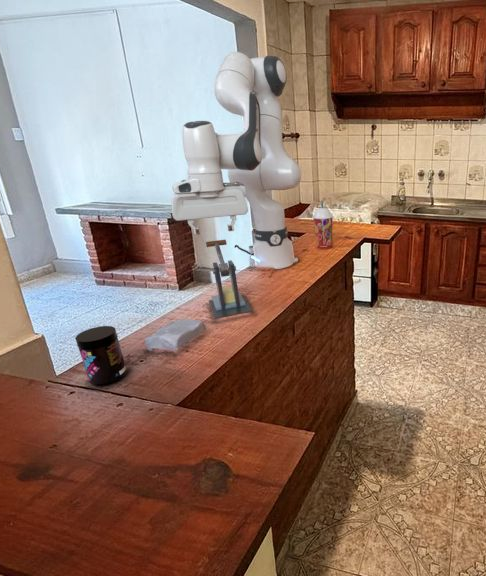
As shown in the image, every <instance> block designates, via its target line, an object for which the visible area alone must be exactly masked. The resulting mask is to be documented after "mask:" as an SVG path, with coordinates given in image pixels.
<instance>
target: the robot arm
mask: <svg viewBox="0 0 486 576" xmlns="http://www.w3.org/2000/svg"><path fill="white" fill-rule="evenodd" d="M287 76H288V75H287V70H286V66H285V64H284V62H283V61H282V60H281V59H280V58H279V56H276V55H266V56H260V57H258V56H257V57H251V58H250V57H249V56H248V55H246V54H245V53H243V52H241V51H231V52H229V53H228V54H226V56H225V57H224V59H223V60H222V62H221V64H220V66H219V68H218V71H217V74H216V76H215V77H216V78H215V81H214V85H213V93H214V96H215V99H216V101H217V102H218V104H219V106H221V107H222V108H223V109H224V110H226V111H227V112H229V113H231V114H233V115H236V116H241V117H242V118H243V130H242V131H241V132H238V133H234V134H232V133H231V134H218V133H217V132H215V128H214V125H213V123H212V122H211V121H209V120H195V121H188V122H185V124H183V125H182V131H181V136H182V148H183V155H184V158H185V160H186V163H187V175H188V176H187V177H188V178H186V179H181V180H180V181H178V182H175V183H173V184H172V191H173V194H172V196H171V203H170V204H171V205H170V206H171V216H172V219H174V221H177V222H180V221H181V222H182V221H187V224H188V225H189V227H190V228H191V229H192V230H193V235H194V236H199V235H201V233H200V228H199V227H195V226H194V220H201V219H213V218H221V217H230V219H231V221H230V223H229V224H227V230H228V232H235V224H236V221H237V216H243V215H247V213H248V211H249V208H248V203H249V205H250V208H251V212H252V216H253V221H254V222H253V223H254V230H253V234H254V239H255V240H254V241H253V245H249V246H248V250H246V249H245V248H242V247H240V246H239V245H238V244H235V245H234V247H233V248H234V249H235V248H237V249H238V250H240V251H242V252H244V253H246V254H247V255H249V256H248V258H249V259H248V261H249V265H248V266H249V267H258V268H267V269H268V268H273V269H274V270H282V269H285V268H288V267H291V266H292V265H293V264H295V263H298V262H299V257H296V256H295V253H294V247H293V241H292V240H291V239H290V238H288V236H289V234H288V233H289V231H288V228H287V226H286V218H285V215H286V214H285V208H284V206H283V205H282V204H281V203H280V202H279V201H277V200H275V199H273V198H271V197H270V196H269V194H268V193H267V191H285V190H291V189H294V188H297V187H299V184H300V182H301V180H302V169H301V166H300V165H299V163H298V162H297V161H296V160H294V158H292V157H290V155H289V154H288V153H287V152H286V150H285V146H284V143H283V110H282V105H281V100H280V98H279V97H280V96H281V95H282V94H283V91H284V89H285V87H286V84H287V81H288V77H287ZM263 153H264V154H265V157H263ZM222 170H227V178H228V180H229V182H224V178H223V171H222ZM247 202H248V203H247ZM252 265H253V266H252Z"/></svg>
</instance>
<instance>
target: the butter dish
mask: <svg viewBox="0 0 486 576" xmlns="http://www.w3.org/2000/svg"><path fill="white" fill-rule="evenodd" d="M222 290H223V296H224V302H225V308H226V309H227V308H233V307H237V306H236V303H235V298H234V292H233V290H232V284H231V285H226V286H222ZM238 294H239V301H240V306H243V305H246V304H245V301H244V300H243V298H242V296H241V295H242V294H241V293H240V291H239V290H238ZM211 300H213V303H214V306H215V309H216V311H217V310H222V308H221V305H220V302H219V297H218V294H216V295H211Z"/></svg>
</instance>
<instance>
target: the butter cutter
mask: <svg viewBox="0 0 486 576" xmlns="http://www.w3.org/2000/svg"><path fill="white" fill-rule="evenodd" d="M227 264H228V267H229V272H230V276H229V279H230V283H231V285H232V290H233V292H234V298H235V303H236V306H237V307H233V308H227V309H226V308H225V302H224V296H223V290H222V287H223V284H222V279H221V278H222V277H221V273H220V269H219V263H217V262H212V266H213V268H212V274H213V275H214V278H215V279H214V280H215V284H216V291H217V295H218V297H219V302H220V305H221V308H222V310H217V311H216V309H215V306H214V303H213V300H212V299H209V300H208V303H209V306H210V309H211V312H212V315H213V317H214V320H219V319H222V318H228V317H231V316H232V317H233V316H237V315H242V314H243V315H244V314H247V313H248V314H249V313H251V312H254V310H253V309H252V307H251V305H250V303H249V302H248V299H247V298H246V297H245V295H244V294H243V293H242V294H241V296H242V298H243V300H244V301H245V304H246V305H243V306H240V301H239V294H238V291H239V289H238V282H237V274H236V271H237V267H236V265H235V264H234V262H233V261H232V260H231V259H230V260H227Z"/></svg>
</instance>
